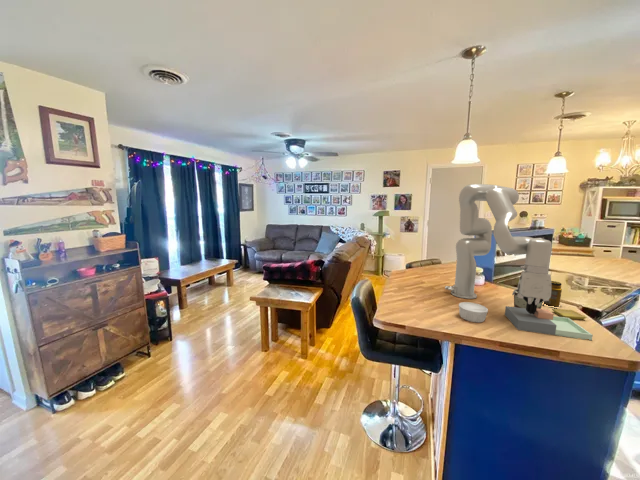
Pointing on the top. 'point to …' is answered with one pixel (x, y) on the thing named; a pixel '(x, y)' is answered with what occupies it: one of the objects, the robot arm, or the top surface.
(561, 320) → the box
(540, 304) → the food container
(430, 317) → the top surface
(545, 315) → the tile
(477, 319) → the ramekin
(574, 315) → the olive flat square tray
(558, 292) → the condiment
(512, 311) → the ledge
